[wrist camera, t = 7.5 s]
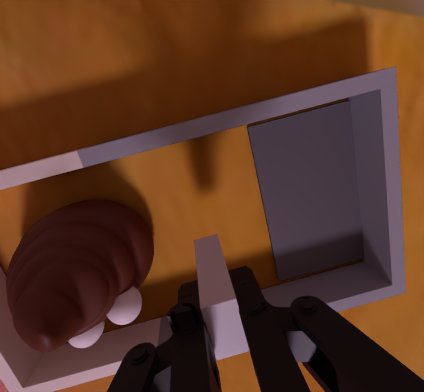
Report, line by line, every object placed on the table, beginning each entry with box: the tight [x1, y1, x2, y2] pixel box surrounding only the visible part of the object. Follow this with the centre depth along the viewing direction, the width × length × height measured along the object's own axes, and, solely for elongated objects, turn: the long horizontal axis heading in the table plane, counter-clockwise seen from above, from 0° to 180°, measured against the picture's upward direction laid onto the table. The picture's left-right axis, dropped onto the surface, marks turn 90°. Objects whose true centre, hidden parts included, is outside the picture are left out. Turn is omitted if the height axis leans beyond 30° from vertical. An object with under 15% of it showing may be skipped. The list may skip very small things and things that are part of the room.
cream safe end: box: [0, 145, 161, 392], centre depth 19 cm, size 11×16×4 cm
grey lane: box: [77, 67, 406, 345], centre depth 20 cm, size 19×16×4 cm
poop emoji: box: [6, 200, 154, 352], centre depth 17 cm, size 10×8×9 cm
